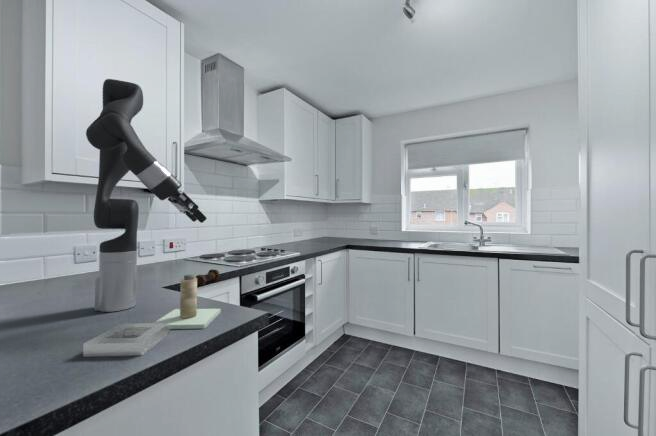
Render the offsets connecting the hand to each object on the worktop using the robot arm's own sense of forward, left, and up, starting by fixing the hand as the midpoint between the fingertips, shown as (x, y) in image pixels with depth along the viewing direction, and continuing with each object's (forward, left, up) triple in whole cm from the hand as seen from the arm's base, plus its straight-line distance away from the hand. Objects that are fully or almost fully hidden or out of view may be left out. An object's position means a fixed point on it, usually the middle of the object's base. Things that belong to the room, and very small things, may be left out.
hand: (200, 220), depth 90 cm
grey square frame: (-4, -28, -27) cm, 39 cm away
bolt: (-10, +33, -27) cm, 44 cm away
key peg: (+2, -14, -26) cm, 29 cm away
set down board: (+2, -13, -27) cm, 30 cm away
